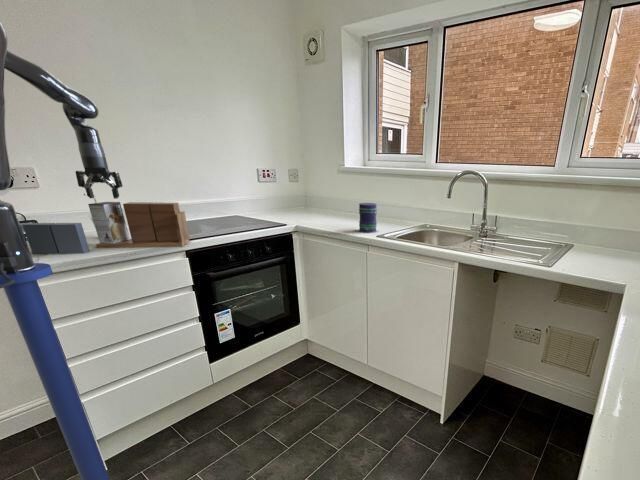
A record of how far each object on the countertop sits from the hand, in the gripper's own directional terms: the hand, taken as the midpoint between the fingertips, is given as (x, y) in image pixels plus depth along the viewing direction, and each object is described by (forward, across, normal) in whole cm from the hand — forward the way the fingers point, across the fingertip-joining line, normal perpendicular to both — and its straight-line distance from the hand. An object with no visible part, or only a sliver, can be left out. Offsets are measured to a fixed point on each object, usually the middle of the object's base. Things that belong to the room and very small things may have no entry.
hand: (104, 198), depth 143 cm
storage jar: (+19, +113, +26) cm, 118 cm away
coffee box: (+18, 0, 0) cm, 18 cm away
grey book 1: (+19, -18, -12) cm, 29 cm away
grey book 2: (+19, -9, -12) cm, 24 cm away
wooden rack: (+19, +11, 0) cm, 22 cm away
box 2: (+18, +21, 0) cm, 28 cm away
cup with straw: (+19, -12, +17) cm, 29 cm away
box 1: (+18, +12, 0) cm, 21 cm away
